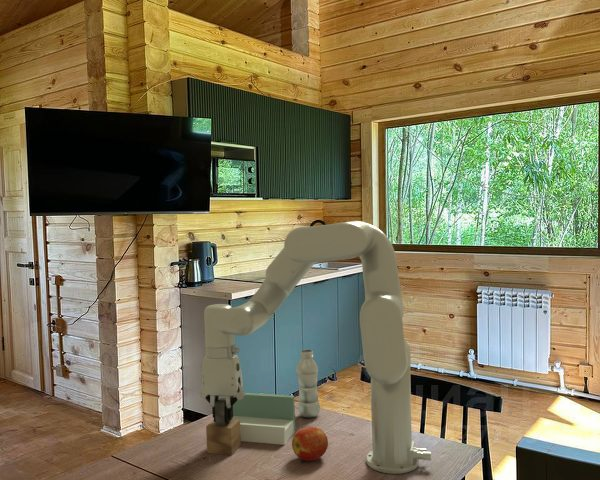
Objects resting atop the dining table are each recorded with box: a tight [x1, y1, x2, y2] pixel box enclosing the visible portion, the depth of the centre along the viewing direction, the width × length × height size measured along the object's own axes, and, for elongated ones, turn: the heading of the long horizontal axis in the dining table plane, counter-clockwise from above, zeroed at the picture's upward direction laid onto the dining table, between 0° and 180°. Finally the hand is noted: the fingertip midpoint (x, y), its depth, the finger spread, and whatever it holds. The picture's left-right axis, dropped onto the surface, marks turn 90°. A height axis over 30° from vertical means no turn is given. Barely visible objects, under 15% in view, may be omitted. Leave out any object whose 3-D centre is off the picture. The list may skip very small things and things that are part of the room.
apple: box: [291, 426, 329, 462], centre depth 136 cm, size 8×8×8 cm
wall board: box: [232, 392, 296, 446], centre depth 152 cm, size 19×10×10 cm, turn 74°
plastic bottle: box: [296, 349, 321, 418], centre depth 165 cm, size 6×7×20 cm
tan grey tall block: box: [205, 397, 242, 456], centre depth 143 cm, size 7×6×13 cm
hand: (223, 420), depth 143 cm, fingers closed on tan grey tall block, 2 cm apart
